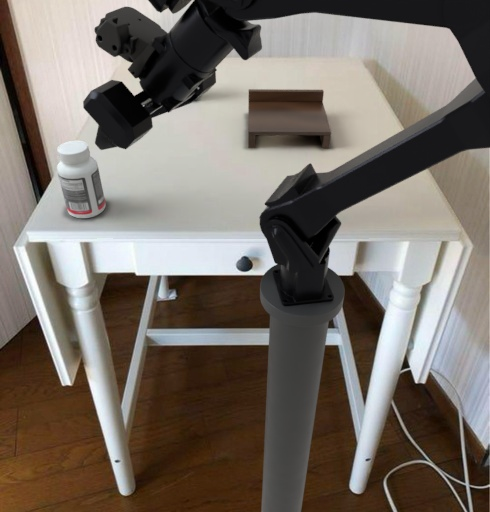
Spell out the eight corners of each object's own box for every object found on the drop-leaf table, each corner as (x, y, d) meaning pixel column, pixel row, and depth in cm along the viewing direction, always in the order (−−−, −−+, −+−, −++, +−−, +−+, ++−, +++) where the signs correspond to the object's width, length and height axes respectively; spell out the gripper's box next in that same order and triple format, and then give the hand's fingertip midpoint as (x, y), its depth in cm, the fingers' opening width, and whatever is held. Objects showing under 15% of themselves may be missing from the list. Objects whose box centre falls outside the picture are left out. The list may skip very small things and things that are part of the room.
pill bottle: (91, 194, 77) (78, 134, 71) (113, 207, 74) (102, 145, 68) (60, 210, 74) (43, 147, 68) (82, 224, 71) (67, 160, 65)
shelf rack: (329, 148, 89) (332, 120, 86) (248, 147, 89) (248, 120, 86) (320, 114, 100) (323, 89, 97) (248, 114, 100) (248, 89, 97)
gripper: (186, -34, 58) (121, 55, 69) (78, 3, 45) (18, 106, 55) (251, 47, 60) (178, 121, 71) (165, 105, 47) (91, 185, 58)
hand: (122, 130), depth 64 cm, fingers open, 9 cm apart
